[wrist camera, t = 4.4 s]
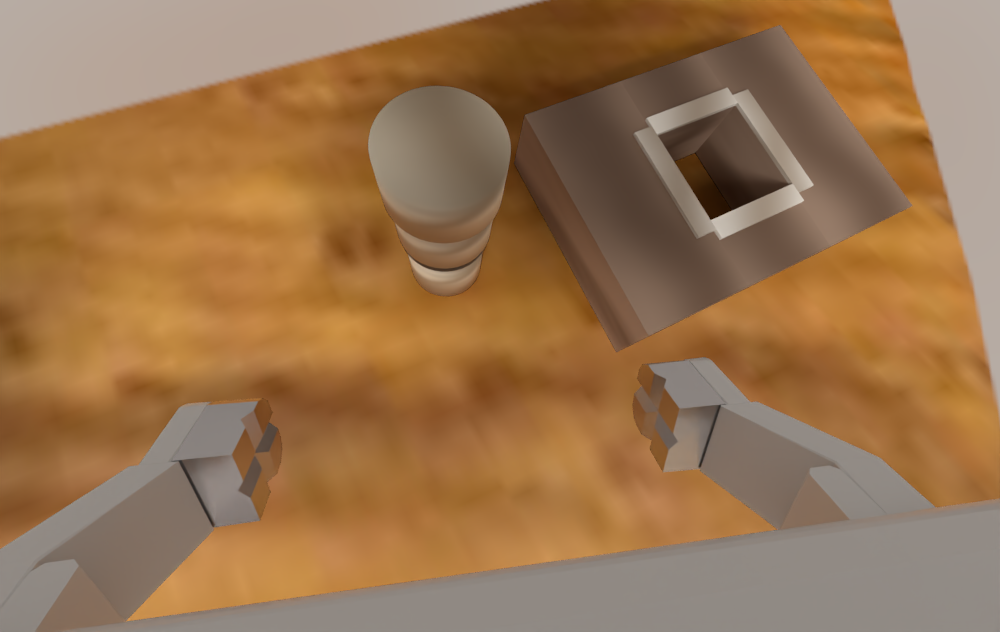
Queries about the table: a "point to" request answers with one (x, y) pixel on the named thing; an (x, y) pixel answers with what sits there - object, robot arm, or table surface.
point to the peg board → (669, 199)
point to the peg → (441, 180)
